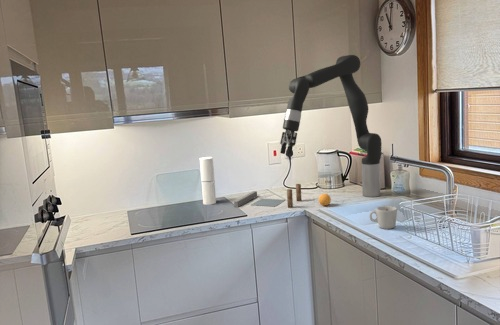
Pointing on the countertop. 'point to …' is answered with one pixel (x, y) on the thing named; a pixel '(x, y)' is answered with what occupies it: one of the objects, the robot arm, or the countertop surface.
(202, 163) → the cylindrical container
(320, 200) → the ball
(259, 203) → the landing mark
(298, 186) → the post
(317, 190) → the countertop surface
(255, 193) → the stopper wall
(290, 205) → the post
